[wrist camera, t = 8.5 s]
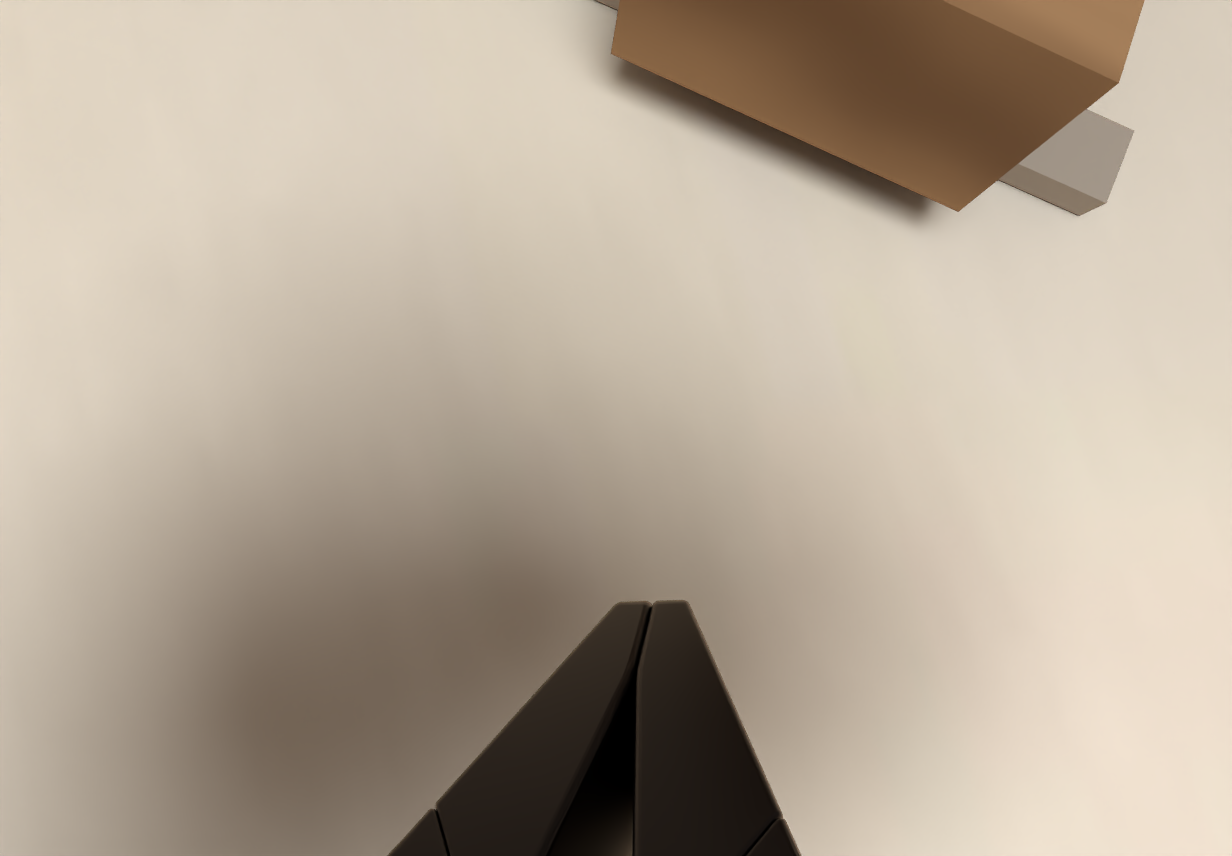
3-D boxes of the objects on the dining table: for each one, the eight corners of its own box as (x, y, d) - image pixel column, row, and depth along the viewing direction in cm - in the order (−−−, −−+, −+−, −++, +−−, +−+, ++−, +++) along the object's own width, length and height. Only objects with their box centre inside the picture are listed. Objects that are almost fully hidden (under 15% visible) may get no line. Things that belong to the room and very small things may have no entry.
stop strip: (1079, 215, 20) (1106, 203, 19) (513, -37, 19) (510, -64, 18) (1106, 146, 20) (1134, 130, 19) (543, -107, 19) (542, -137, 18)
